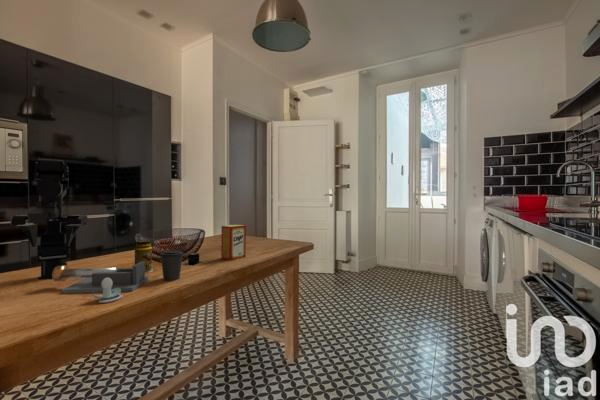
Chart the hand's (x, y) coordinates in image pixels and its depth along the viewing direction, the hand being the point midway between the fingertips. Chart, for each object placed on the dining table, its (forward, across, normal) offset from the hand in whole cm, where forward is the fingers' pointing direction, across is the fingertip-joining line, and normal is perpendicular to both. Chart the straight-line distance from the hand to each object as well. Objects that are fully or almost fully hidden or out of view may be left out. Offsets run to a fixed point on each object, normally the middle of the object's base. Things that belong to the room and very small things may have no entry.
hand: (51, 246), depth 95 cm
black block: (+14, +42, +26) cm, 51 cm away
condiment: (+13, +23, +15) cm, 30 cm away
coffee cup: (+13, +36, +1) cm, 39 cm away
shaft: (+11, +11, -3) cm, 16 cm away
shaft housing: (+13, +18, -4) cm, 22 cm away
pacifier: (+13, +22, -17) cm, 31 cm away
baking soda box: (+13, +59, +32) cm, 69 cm away
